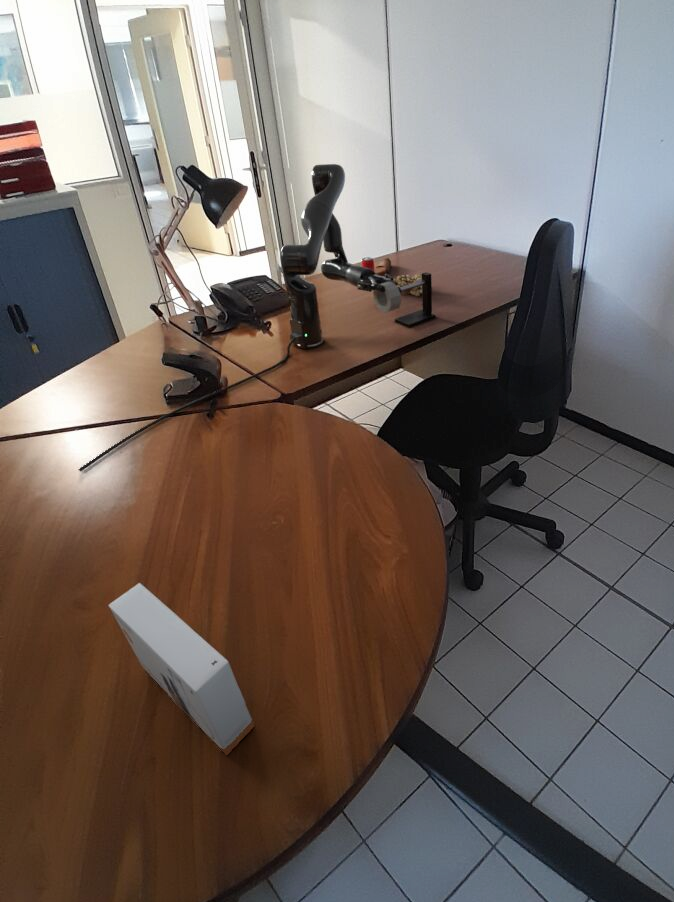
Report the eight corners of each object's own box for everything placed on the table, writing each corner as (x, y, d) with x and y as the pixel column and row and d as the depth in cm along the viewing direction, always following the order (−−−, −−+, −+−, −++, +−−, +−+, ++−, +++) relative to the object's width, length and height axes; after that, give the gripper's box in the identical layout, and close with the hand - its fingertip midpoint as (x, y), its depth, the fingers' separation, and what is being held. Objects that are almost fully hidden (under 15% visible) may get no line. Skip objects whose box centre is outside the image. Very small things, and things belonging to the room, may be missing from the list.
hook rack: (404, 329, 194) (402, 285, 186) (390, 323, 199) (387, 280, 191) (436, 317, 202) (436, 275, 194) (422, 312, 208) (421, 270, 200)
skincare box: (140, 673, 83) (106, 603, 75) (172, 647, 87) (142, 578, 78) (224, 761, 72) (194, 691, 63) (256, 728, 75) (233, 657, 67)
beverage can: (370, 289, 234) (368, 261, 227) (361, 287, 236) (358, 259, 230) (377, 285, 237) (376, 258, 231) (368, 283, 240) (366, 256, 234)
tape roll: (391, 315, 187) (389, 288, 182) (374, 308, 193) (372, 282, 188) (401, 312, 189) (400, 285, 184) (384, 305, 195) (382, 279, 190)
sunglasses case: (373, 265, 262) (379, 252, 259) (386, 272, 264) (392, 260, 261) (370, 276, 247) (377, 263, 244) (384, 284, 248) (391, 271, 245)
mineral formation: (424, 298, 220) (388, 294, 223) (430, 293, 232) (396, 289, 235) (425, 278, 217) (389, 274, 220) (432, 273, 229) (397, 270, 232)
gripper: (343, 271, 191) (372, 281, 179) (375, 262, 198) (405, 271, 187) (345, 291, 195) (374, 303, 183) (376, 282, 202) (406, 293, 191)
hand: (390, 287), depth 185 cm, fingers closed on tape roll, 4 cm apart
